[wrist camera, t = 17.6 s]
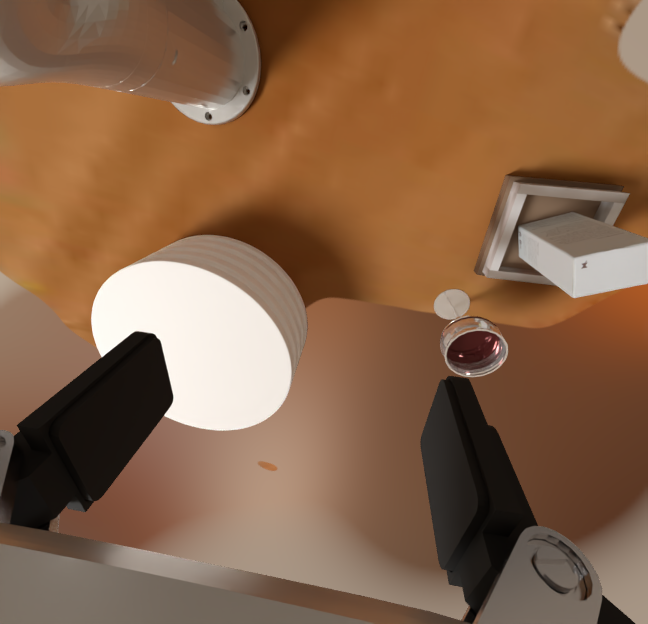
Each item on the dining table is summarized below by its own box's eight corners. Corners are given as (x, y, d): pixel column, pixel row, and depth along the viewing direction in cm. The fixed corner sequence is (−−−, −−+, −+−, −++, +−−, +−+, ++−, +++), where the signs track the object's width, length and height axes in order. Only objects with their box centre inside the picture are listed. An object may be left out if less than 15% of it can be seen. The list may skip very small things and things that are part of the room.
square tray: (505, 175, 36) (517, 178, 33) (614, 184, 35) (637, 188, 32) (473, 270, 42) (481, 280, 39) (566, 281, 41) (581, 292, 38)
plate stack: (135, 216, 45) (68, 238, 35) (320, 256, 44) (305, 290, 34) (154, 362, 59) (111, 407, 49) (296, 395, 58) (280, 447, 48)
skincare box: (517, 257, 39) (570, 299, 29) (516, 224, 37) (572, 257, 27) (573, 245, 37) (650, 285, 27) (574, 210, 36) (658, 238, 25)
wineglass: (417, 303, 45) (431, 351, 35) (458, 274, 43) (485, 316, 32) (446, 332, 47) (466, 386, 37) (486, 306, 44) (521, 357, 34)
